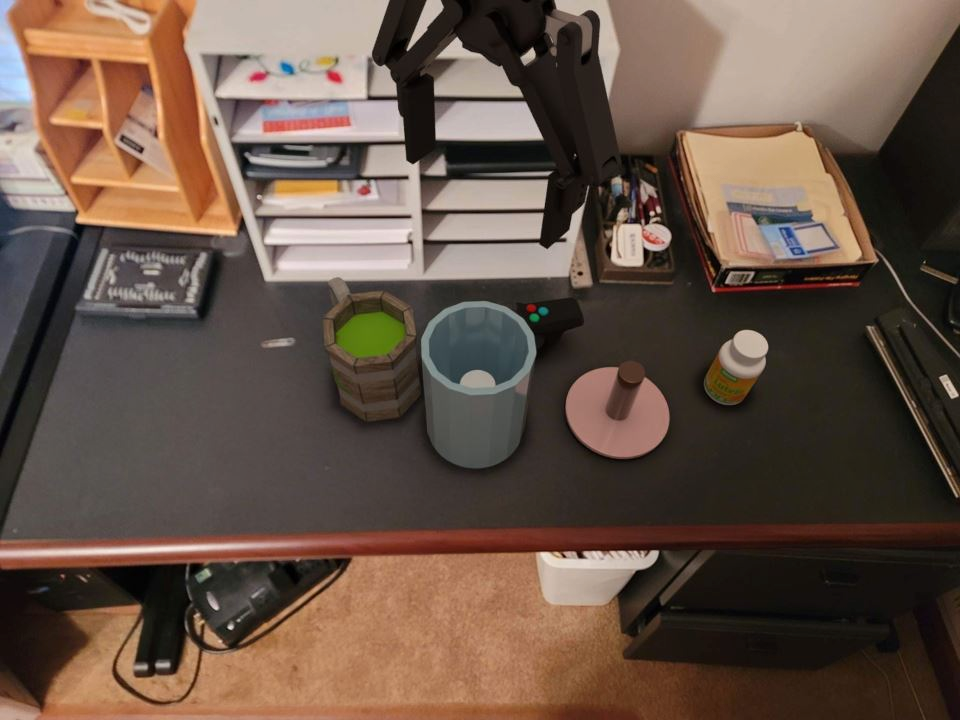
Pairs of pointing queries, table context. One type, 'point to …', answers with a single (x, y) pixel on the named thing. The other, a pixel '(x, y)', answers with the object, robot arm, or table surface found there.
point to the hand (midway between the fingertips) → (484, 194)
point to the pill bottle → (477, 379)
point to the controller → (548, 319)
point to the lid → (617, 411)
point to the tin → (477, 411)
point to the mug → (372, 352)
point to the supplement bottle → (736, 367)
